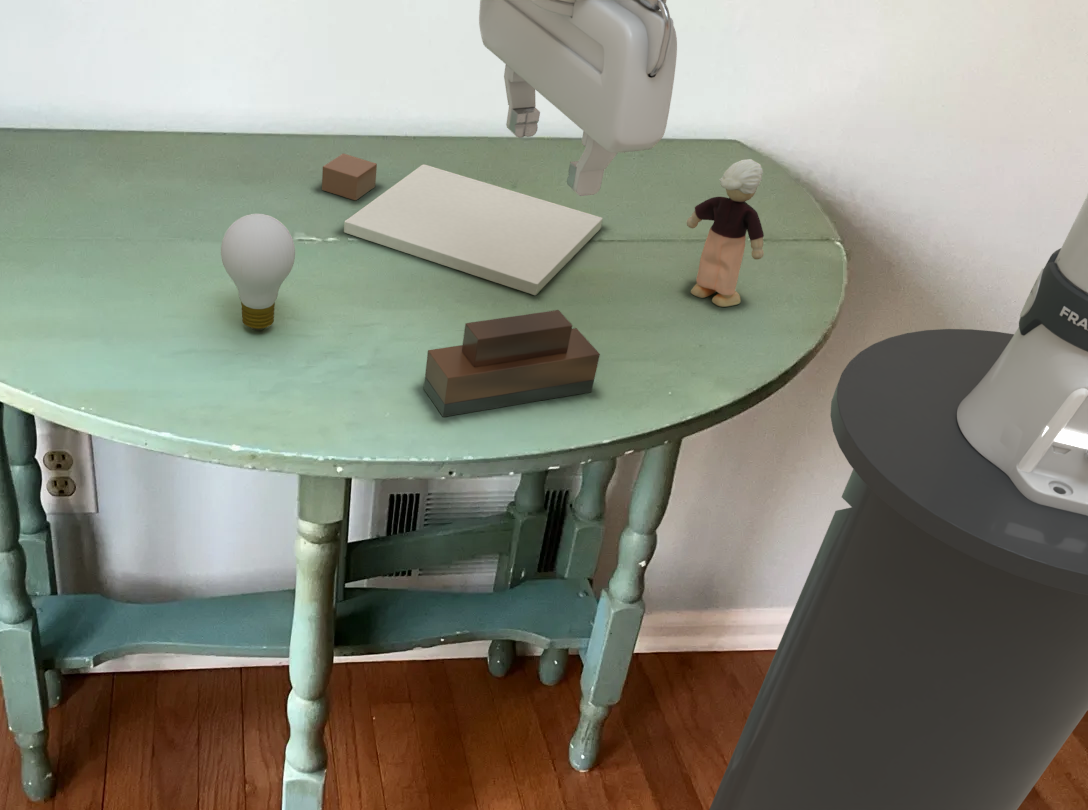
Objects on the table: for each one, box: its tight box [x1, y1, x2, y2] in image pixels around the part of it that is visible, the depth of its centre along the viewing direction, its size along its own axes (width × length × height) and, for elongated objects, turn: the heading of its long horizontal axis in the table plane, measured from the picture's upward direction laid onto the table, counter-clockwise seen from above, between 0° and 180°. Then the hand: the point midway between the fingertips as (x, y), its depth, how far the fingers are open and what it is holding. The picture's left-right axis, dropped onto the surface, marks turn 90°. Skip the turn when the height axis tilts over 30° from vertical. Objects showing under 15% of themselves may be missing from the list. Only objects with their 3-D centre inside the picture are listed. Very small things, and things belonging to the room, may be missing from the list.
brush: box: [423, 309, 601, 418], centre depth 93 cm, size 13×4×6 cm, turn 110°
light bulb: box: [220, 213, 296, 332], centre depth 96 cm, size 6×6×10 cm
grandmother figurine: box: [685, 158, 765, 308], centre depth 104 cm, size 8×4×13 cm, turn 57°
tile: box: [343, 163, 604, 296], centre depth 115 cm, size 20×16×1 cm
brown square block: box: [321, 153, 378, 201], centre depth 119 cm, size 4×4×2 cm
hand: (550, 161), depth 82 cm, fingers open, 8 cm apart
